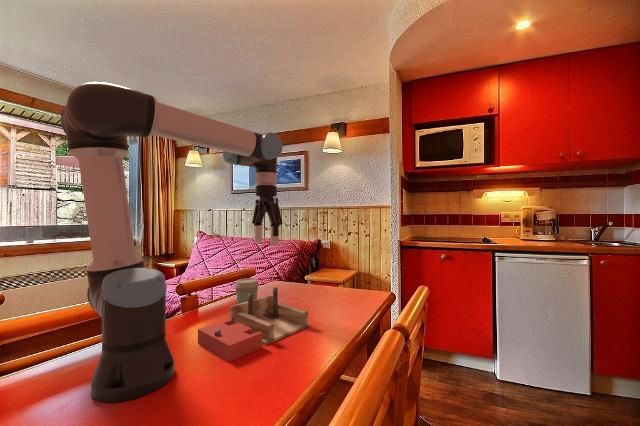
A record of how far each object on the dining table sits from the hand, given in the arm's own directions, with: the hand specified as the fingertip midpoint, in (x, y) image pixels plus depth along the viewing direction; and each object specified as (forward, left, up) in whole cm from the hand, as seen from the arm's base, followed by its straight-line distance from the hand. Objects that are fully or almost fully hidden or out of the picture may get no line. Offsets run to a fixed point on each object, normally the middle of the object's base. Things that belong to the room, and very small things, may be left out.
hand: (266, 244), depth 103 cm
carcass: (-6, -10, -25) cm, 28 cm away
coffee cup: (-3, +7, -26) cm, 27 cm away
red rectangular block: (-22, -12, -25) cm, 35 cm away
